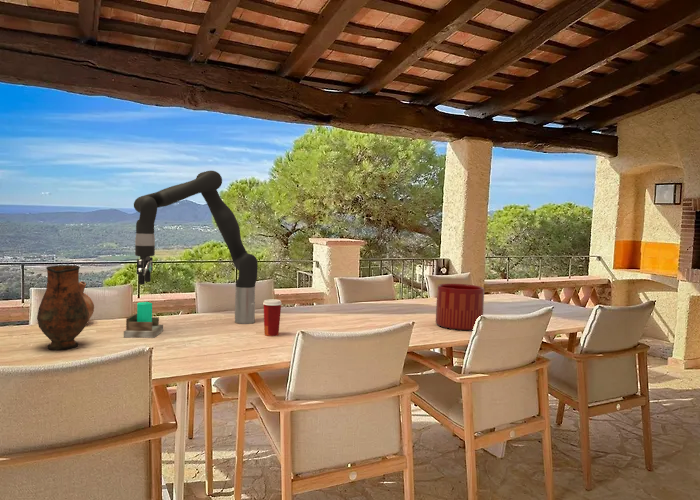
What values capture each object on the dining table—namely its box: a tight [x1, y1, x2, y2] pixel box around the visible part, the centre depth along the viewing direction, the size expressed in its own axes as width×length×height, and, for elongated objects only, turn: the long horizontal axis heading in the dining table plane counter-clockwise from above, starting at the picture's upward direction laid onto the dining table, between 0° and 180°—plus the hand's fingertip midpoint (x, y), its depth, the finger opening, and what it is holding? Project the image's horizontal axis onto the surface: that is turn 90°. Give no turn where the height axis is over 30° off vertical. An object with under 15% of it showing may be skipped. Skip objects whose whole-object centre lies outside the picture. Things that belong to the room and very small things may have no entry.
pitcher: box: [36, 264, 89, 351], centre depth 187 cm, size 17×21×30 cm
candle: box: [136, 301, 153, 322], centre depth 210 cm, size 6×6×12 cm
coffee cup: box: [262, 298, 283, 337], centre depth 217 cm, size 8×8×15 cm
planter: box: [435, 283, 485, 331], centre depth 250 cm, size 23×23×20 cm
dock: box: [123, 313, 164, 339], centre depth 210 cm, size 12×14×8 cm
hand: (144, 283), depth 209 cm, fingers open, 8 cm apart
